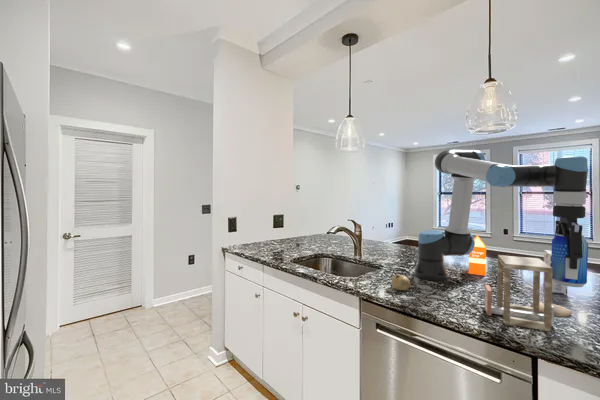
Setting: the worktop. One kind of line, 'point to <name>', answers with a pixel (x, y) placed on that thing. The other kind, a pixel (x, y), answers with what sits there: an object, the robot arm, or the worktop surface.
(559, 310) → the coaster
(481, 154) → the robot arm
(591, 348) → the worktop surface
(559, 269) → the beer can
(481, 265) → the orange juice
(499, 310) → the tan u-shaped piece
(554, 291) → the candy box
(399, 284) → the onion
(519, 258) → the wooden open frame
